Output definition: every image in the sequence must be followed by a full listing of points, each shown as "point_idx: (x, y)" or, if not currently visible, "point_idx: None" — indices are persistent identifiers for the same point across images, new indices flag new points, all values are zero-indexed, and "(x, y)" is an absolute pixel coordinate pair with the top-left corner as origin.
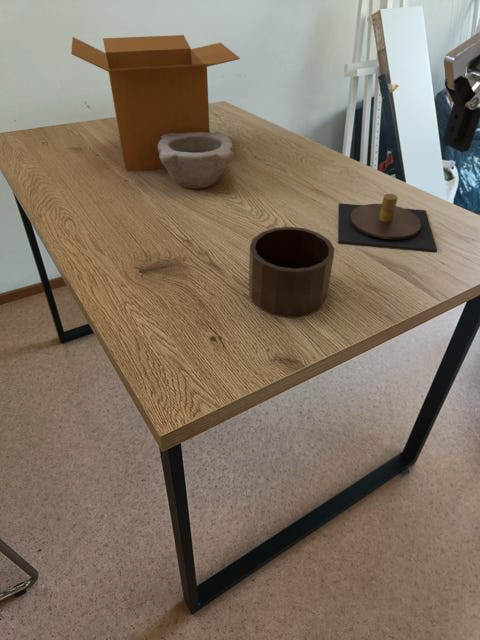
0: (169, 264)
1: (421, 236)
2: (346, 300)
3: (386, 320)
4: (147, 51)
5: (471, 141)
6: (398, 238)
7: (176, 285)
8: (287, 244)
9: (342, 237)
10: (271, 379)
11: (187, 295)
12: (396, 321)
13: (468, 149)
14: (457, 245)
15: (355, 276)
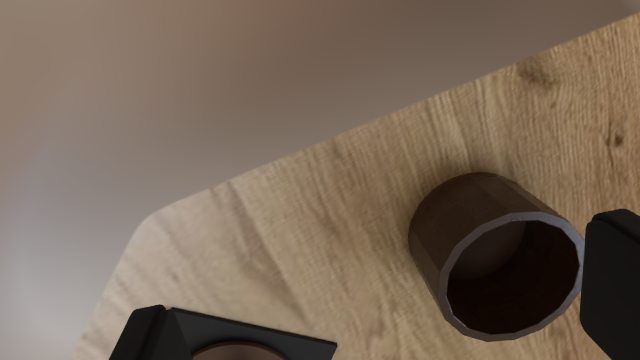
0: None
1: None
2: (386, 201)
3: (342, 145)
4: None
5: (623, 236)
6: (234, 342)
7: None
8: (478, 312)
9: (326, 355)
10: (574, 42)
11: None
12: (327, 140)
13: (602, 214)
14: (122, 323)
15: (345, 257)
